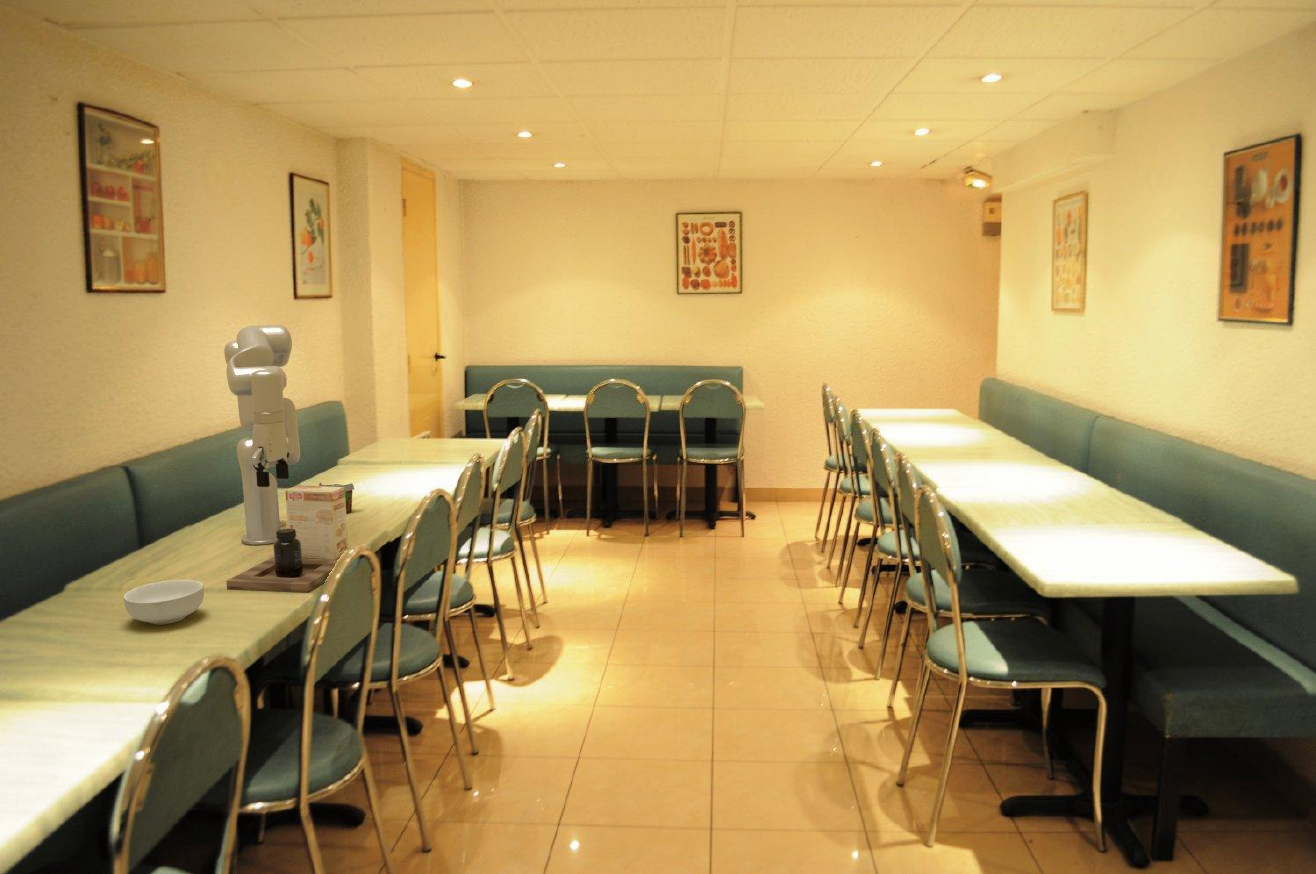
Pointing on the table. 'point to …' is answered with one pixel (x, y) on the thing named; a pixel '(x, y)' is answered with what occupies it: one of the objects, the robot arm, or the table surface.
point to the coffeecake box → (318, 520)
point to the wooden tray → (266, 578)
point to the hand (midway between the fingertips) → (273, 482)
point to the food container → (347, 494)
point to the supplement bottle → (287, 554)
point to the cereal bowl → (164, 601)
